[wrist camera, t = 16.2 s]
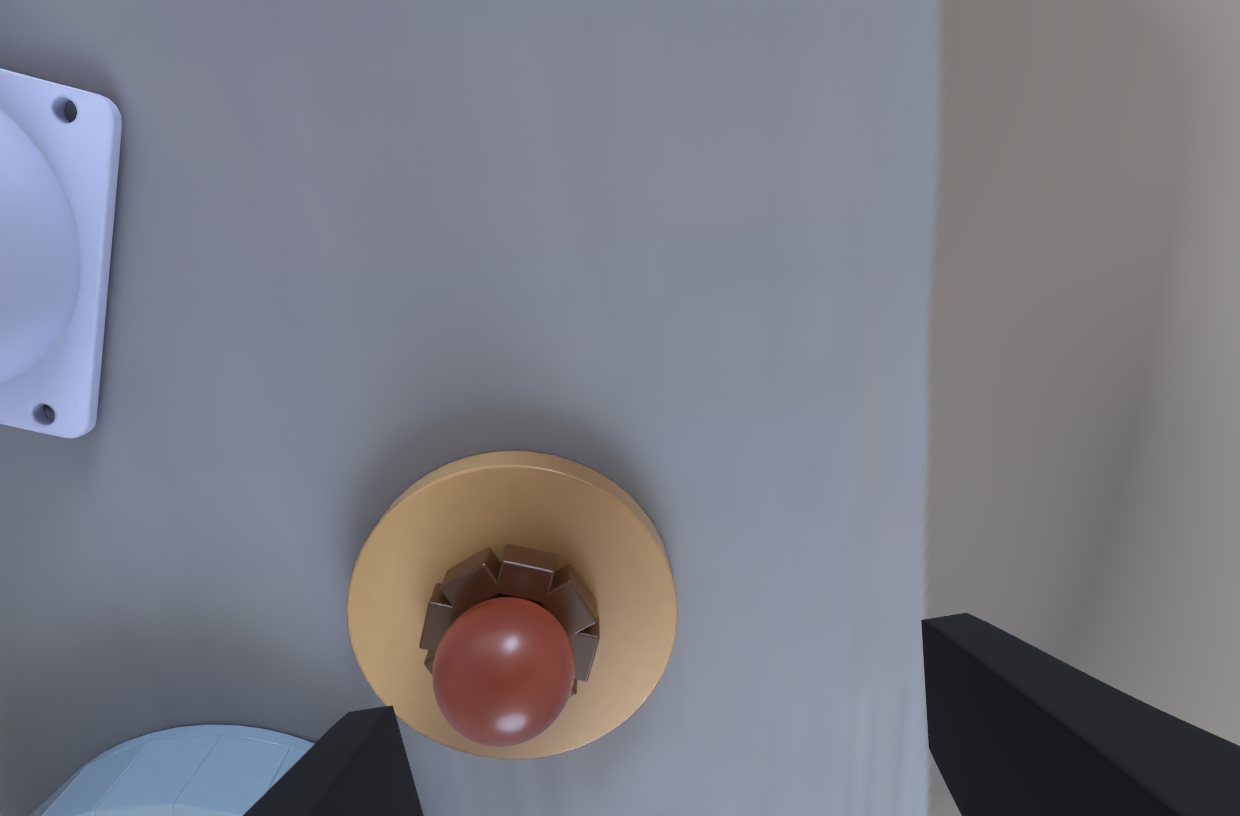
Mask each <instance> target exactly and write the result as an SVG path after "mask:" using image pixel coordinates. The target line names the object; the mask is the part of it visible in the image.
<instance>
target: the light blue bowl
mask: <svg viewBox="0 0 1240 816" xmlns="http://www.w3.org/2000/svg"><path fill="white" fill-rule="evenodd" d="M314 744H315V743H312V742H309V741H307V740H304V739H301V738H298V737H295V736H293V735H289V734H285V733H280V732H276V731H272V730H268V729H263V728H256V727H248V726H240V725H216V724H205V725H194V726H183V727H176V728H171V729H166V730H162V731H157V732H152V733H149V734H146V735H143V736H140V737H137V738H134V739H131V740H128V741H126V742H124V743H122V744H120V745H117V746H115V747H113V748H111V749H109V750H107V751H105V752H103V753H101V754H100V755H98V756H97V757H95V758H94V759H92V760H91V761H89V762H88V763H86V764H85V765H83V766H82V767H81V768H80V769H79V770H77V771H76V772H75V773H74V774H73V775H72V776H71V777H70V778H69V779H68V780H66V781H65V782H64V783H63V784H62V785H61V786H60V788H59V789H58V790H57V791H55V792H54V793H53V794H52V795H51V796H49V797H48V798H47V799H46V800H45V801H43V803H42V804H41V805H40V806H39V807H38V808H37V809H36V810H35V811H34V812H33V813H32V814H31V815H30V816H243V815H244V814H245V813H246V812H247V811H248V810H249V809H250V808H251V807H252V806H253V805H254V804H255V803H256V802H257V801H258V800H259V799H260V798H261V797H262V796H263V795H264V794H265V793H266V792H267V791H268V790H269V789H270V788H271V787H272V786H273V785H274V784H275V783H276V782H277V781H278V780H279V779H280V778H281V777H282V776H283V775H284V774H285V773H286V772H287V771H288V770H289V769H290V768H291V767H292V766H293V765H294V764H295V763H296V762H297V761H298V760H299V759H300V758H301V757H302V756H303V755H304V754H305V753H306V752H307V751H308V750H309V749H310V748H311V747H312V746H313V745H314Z"/></svg>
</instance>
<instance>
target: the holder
mask: <svg viewBox="0 0 1240 816" xmlns="http://www.w3.org/2000/svg"><path fill="white" fill-rule="evenodd" d="M500 597H514V598H521V599H525V600H528V601H531V602H533V603H535V604H538V605H540V606H541V607H543V608H544V609H546V610H547V611H549V612H550V613H551V614H552V615H553V616H554V617H555V618H556V619H557V620H558V621H559V623H560V624H561V625H562V627H563V628H564V630H565V631H566V633H567V635H568V637H569V640H570V643H571V646H572V649H573V654H574V660H575V675H574V683H573V687H572V691H571V694H570V697H569V699H568V702H567V704H566V706H565V707H564V709H563V711H562V712H561V714H560V715H559V717H558V718H557V719H556V720H555V722H554V723H553V724H552V725H550V726H549V727H548V728H547V729H546V730H545V731H544V732H542V733H541V734H540V735H538V736H536V737H534V738H533V739H531V740H529V741H526V742H524V743H521V744H517V745H513V746H507V747H495V746H487V745H483V744H479V743H476V742H474V741H472V740H469V739H468V738H466V737H464V736H463V735H462V734H460V733H459V732H458V731H456V730H455V729H454V728H453V727H452V726H451V725H450V724H449V722H448V721H447V720H446V718H445V717H444V715H443V714H442V712H441V710H440V708H439V706H438V704H437V701H436V698H435V694H434V690H433V681H432V670H433V662H434V658H435V653H436V650H437V648H438V645H439V643H440V640H441V638H442V637H443V635H444V633H445V632H446V630H447V629H448V628H449V626H450V625H451V624H452V623H453V621H454V620H455V619H456V618H457V617H458V616H459V615H461V614H462V613H463V612H465V611H466V610H468V609H469V608H471V607H472V606H474V605H476V604H478V603H481V602H483V601H486V600H490V599H494V598H500ZM677 618H678V610H677V595H676V590H675V586H674V581H673V576H672V572H671V567H670V563H669V558H668V556H667V553H666V550H665V547H664V545H663V542H662V540H661V538H660V536H659V534H658V532H657V530H656V528H655V527H654V525H653V523H652V522H651V520H650V519H649V518H648V516H647V515H646V513H645V512H644V511H643V509H642V508H641V507H640V506H639V505H638V504H637V503H636V502H635V501H634V500H633V499H632V498H631V496H630V495H629V494H628V493H626V492H625V491H624V490H623V489H621V488H620V487H619V486H618V485H616V484H615V483H614V482H613V481H611V480H610V479H608V478H606V477H605V476H603V475H601V474H600V473H598V472H596V471H595V470H593V469H591V468H588V467H586V466H584V465H582V464H579V463H577V462H575V461H572V460H568V459H565V458H562V457H558V456H555V455H550V454H544V453H538V452H532V451H499V452H488V453H483V454H479V455H474V456H469V457H466V458H463V459H460V460H457V461H454V462H452V463H449V464H446V465H444V466H442V467H440V468H438V469H436V470H434V471H432V472H430V473H429V474H427V475H426V476H424V477H423V478H421V479H420V480H418V481H417V482H415V483H414V484H412V485H411V486H410V487H409V488H408V489H407V490H406V491H404V492H403V493H402V494H401V495H400V496H399V497H398V498H397V499H396V500H395V501H394V502H393V504H392V505H391V506H390V507H389V508H388V510H387V511H386V512H385V513H384V514H383V516H382V517H381V519H380V520H379V522H378V523H377V525H376V526H375V528H374V529H373V531H372V532H371V534H370V535H369V537H368V539H367V540H366V542H365V544H364V545H363V547H362V549H361V551H360V553H359V556H358V558H357V560H356V563H355V565H354V568H353V572H352V576H351V579H350V583H349V589H348V599H347V621H348V629H349V634H350V639H351V644H352V647H353V650H354V653H355V656H356V659H357V662H358V664H359V666H360V668H361V670H362V672H363V674H364V676H365V678H366V680H367V681H368V683H369V684H370V686H371V687H372V689H373V690H374V692H375V693H376V694H377V696H378V697H379V698H380V699H381V700H382V702H383V703H384V704H385V705H386V706H391V705H393V708H394V712H395V715H396V716H398V717H399V718H400V719H401V720H402V721H403V722H405V723H406V724H407V725H409V726H410V727H412V728H413V729H415V730H416V731H418V732H419V733H421V734H422V735H424V736H426V737H428V738H430V739H432V740H434V741H436V742H438V743H440V744H442V745H444V746H447V747H450V748H452V749H455V750H458V751H461V752H465V753H469V754H473V755H477V756H482V757H489V758H497V759H531V758H541V757H546V756H551V755H556V754H561V753H564V752H567V751H570V750H573V749H576V748H579V747H582V746H584V745H586V744H588V743H590V742H593V741H595V740H597V739H599V738H601V737H602V736H604V735H605V734H607V733H609V732H610V731H612V730H614V729H615V728H616V727H618V726H619V725H620V724H622V723H623V722H624V721H625V720H627V719H628V718H629V717H630V716H631V715H632V714H633V713H634V712H635V711H636V710H637V709H638V708H639V707H640V706H641V705H642V704H643V703H644V702H645V700H646V699H647V698H648V696H649V695H650V694H651V692H652V691H653V690H654V688H655V687H656V685H657V683H658V682H659V680H660V678H661V676H662V674H663V673H664V671H665V669H666V666H667V664H668V661H669V658H670V656H671V653H672V650H673V645H674V641H675V637H676V630H677Z"/></svg>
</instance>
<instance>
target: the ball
mask: <svg viewBox="0 0 1240 816" xmlns="http://www.w3.org/2000/svg"><path fill="white" fill-rule="evenodd" d="M574 675H575V660H574V654H573V649H572V646H571V643H570V640H569V637H568V635H567V633H566V631H565V630H564V628H563V627H562V625H561V624H560V623H559V621H558V620H557V619H556V618H555V617H554V616H553V615H552V614H551V613H550V612H549V611H547V610H546V609H544V608H543V607H541V606H540V605H538V604H535V603H533V602H531V601H528V600H525V599H521V598H514V597H500V598H494V599H490V600H486V601H483V602H481V603H478V604H476V605H474V606H472V607H471V608H469V609H468V610H466V611H465V612H463V613H462V614H461V615H459V616H458V617H457V618H456V619H455V620H454V621H453V623H452V624H451V625H450V626H449V628H448V629H447V630H446V632H445V633H444V635H443V637H442V638H441V640H440V643H439V645H438V648H437V650H436V653H435V658H434V662H433V670H432V681H433V690H434V694H435V698H436V701H437V704H438V706H439V708H440V710H441V712H442V714H443V715H444V717H445V718H446V720H447V721H448V722H449V724H450V725H451V726H452V727H453V728H454V729H455V730H456V731H458V732H459V733H460V734H462V735H463V736H464V737H466V738H468V739H469V740H472V741H474V742H476V743H479V744H483V745H487V746H495V747H507V746H513V745H517V744H521V743H524V742H526V741H529V740H531V739H533V738H534V737H536V736H538V735H540V734H541V733H542V732H544V731H545V730H546V729H547V728H548V727H549V726H550V725H552V724H553V723H554V722H555V720H556V719H557V718H558V717H559V715H560V714H561V712H562V711H563V709H564V707H565V706H566V704H567V702H568V699H569V697H570V694H571V691H572V687H573V683H574Z"/></svg>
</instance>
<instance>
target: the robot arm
mask: <svg viewBox="0 0 1240 816" xmlns="http://www.w3.org/2000/svg"><path fill="white" fill-rule="evenodd" d="M70 100H71V101H72V102H73V103H74V104H75V106H76V109H77V116H76V119H75V120H74V121H72V122H69V120H68V119H67V118H66V116H65V112H64V108H65V105H66V103H67V102H69V101H70ZM121 133H122V117H121V114H120V112H119V110H118V108H117V106H116V105H115V104H114V103H113V102H112V101H111V100H110V99H108V98H106V97H104V96H102V95H99V94H95V93H92V92H88V91H84V90H80V89H76V88H73V87H69V86H65V85H61V84H57V83H54V82H50V81H46V80H42V79H39V78H35V77H31V76H27V75H23V74H20V73H16V72H12V71H8V70H4V69H1V68H0V424H3V425H8V426H13V427H17V428H22V429H26V430H31V431H36V432H40V433H45V434H49V435H54V436H58V437H63V438H76V437H79V436H82V435H84V434H86V433H89V432H90V431H91V430H92V429H93V428H94V427H95V424H96V421H97V411H98V399H99V388H100V376H101V365H102V353H103V342H104V330H105V318H106V307H107V295H108V284H109V272H110V261H111V249H112V238H113V226H114V214H115V203H116V191H117V180H118V168H119V157H120V145H121ZM45 404H46V405H48V406H50V407H51V408H52V409H53V410H54V412H55V419H54V420H53V419H51V418H49V417H48V416H47V415H46V414H45V411H44V406H45ZM921 621H922V638H923V655H924V672H925V688H926V705H927V722H928V739H929V749H930V751H931V753H932V755H933V758H934V760H935V762H936V764H937V766H938V768H939V770H940V772H941V774H942V776H943V779H944V781H945V783H946V785H947V787H948V789H949V791H950V793H951V794H952V797H953V799H954V801H955V803H956V805H957V807H958V809H959V811H960V813H961V815H962V816H1240V746H1239V745H1236V744H1234V743H1232V742H1229V741H1227V740H1225V739H1223V738H1220V737H1218V736H1216V735H1214V734H1212V733H1209V732H1207V731H1205V730H1203V729H1200V728H1198V727H1196V726H1193V725H1191V724H1189V723H1187V722H1185V721H1183V720H1180V719H1178V718H1176V717H1174V716H1172V715H1169V714H1167V713H1165V712H1163V711H1160V710H1159V709H1157V708H1155V707H1152V706H1150V705H1148V704H1146V703H1144V702H1142V701H1140V700H1138V699H1136V698H1134V697H1132V696H1130V695H1128V694H1126V693H1123V692H1121V691H1120V690H1117V689H1115V688H1113V687H1111V686H1109V685H1107V684H1105V683H1103V682H1101V681H1099V680H1098V679H1096V678H1094V677H1092V676H1089V675H1088V674H1086V673H1084V672H1082V671H1080V670H1078V669H1076V668H1074V667H1072V666H1070V665H1068V664H1066V663H1064V662H1062V661H1061V660H1059V659H1056V658H1055V657H1053V656H1051V655H1049V654H1047V653H1045V652H1043V651H1041V650H1039V649H1038V648H1036V647H1034V646H1032V645H1030V644H1028V643H1026V642H1024V641H1022V640H1020V639H1019V638H1017V637H1015V636H1013V635H1011V634H1009V633H1007V632H1005V631H1003V630H1001V629H999V628H997V627H995V626H993V625H991V624H989V623H987V622H985V621H983V620H981V619H979V618H977V617H975V616H972V615H970V614H968V613H962V614H956V615H950V616H944V617H938V618H931V619H925V620H921ZM243 816H423V813H422V809H421V806H420V802H419V798H418V795H417V791H416V787H415V784H414V780H413V777H412V773H411V769H410V766H409V762H408V759H407V755H406V751H405V748H404V744H403V740H402V737H401V733H400V730H399V726H398V722H397V719H396V715H395V712H394V708H393V705H391V706H385V707H379V708H372V709H366V710H360V711H354V712H348V713H347V714H346V715H345V716H344V717H343V718H341V719H340V720H339V721H338V722H337V723H336V724H335V725H334V726H333V727H332V728H331V729H330V730H328V731H327V732H326V733H325V734H324V735H323V736H322V737H321V738H320V739H319V740H318V741H317V742H316V743H315V744H314V745H313V746H312V747H311V748H310V749H309V750H308V751H307V752H306V753H305V754H304V755H303V756H302V757H301V758H300V759H299V760H298V761H297V762H296V763H295V764H294V765H293V766H292V767H291V768H290V769H289V770H288V771H287V772H286V773H285V774H284V775H283V776H282V777H281V778H280V779H279V780H278V781H277V782H276V783H275V784H274V785H273V786H272V787H271V788H270V789H269V790H268V791H267V792H266V793H265V794H264V795H263V796H262V797H261V798H260V799H259V800H258V801H257V802H256V803H255V804H254V805H253V806H252V807H251V808H250V809H249V810H248V811H247V812H246V813H245V814H244V815H243Z"/></svg>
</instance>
